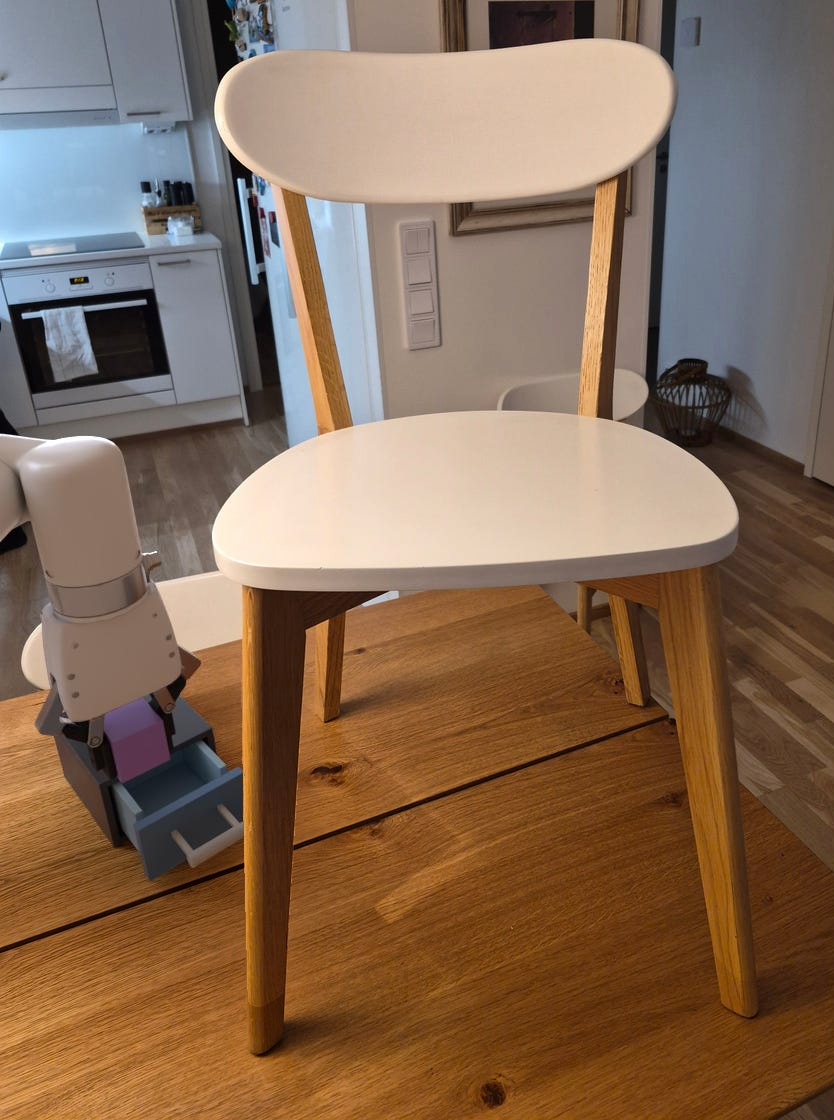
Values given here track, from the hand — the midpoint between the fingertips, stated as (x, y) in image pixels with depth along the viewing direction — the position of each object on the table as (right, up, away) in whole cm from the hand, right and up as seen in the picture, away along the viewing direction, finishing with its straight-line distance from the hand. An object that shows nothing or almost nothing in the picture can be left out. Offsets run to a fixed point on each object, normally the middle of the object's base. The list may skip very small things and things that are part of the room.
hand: (136, 755), depth 78 cm
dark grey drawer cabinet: (-8, -10, +21) cm, 24 cm away
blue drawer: (0, -12, +13) cm, 18 cm away
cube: (0, 0, 0) cm, 0 cm away
